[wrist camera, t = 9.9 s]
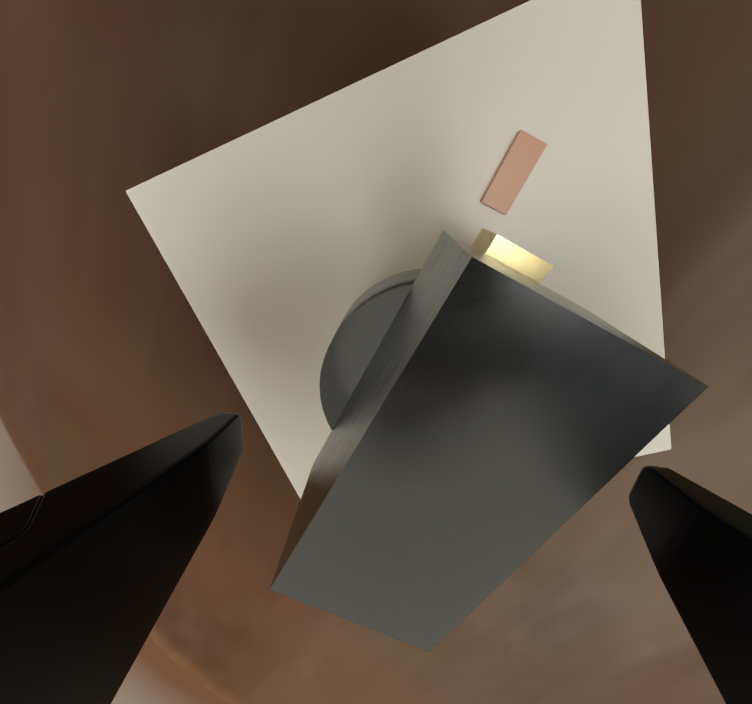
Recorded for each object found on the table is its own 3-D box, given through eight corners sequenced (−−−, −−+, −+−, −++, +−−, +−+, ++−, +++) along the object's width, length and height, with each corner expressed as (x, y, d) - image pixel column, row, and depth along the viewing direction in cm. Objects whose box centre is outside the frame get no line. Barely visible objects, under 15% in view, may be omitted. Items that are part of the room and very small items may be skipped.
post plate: (146, 191, 15) (60, 189, 11) (614, -26, 11) (716, -134, 8) (319, 506, 21) (301, 571, 17) (654, 433, 17) (720, 496, 14)
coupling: (446, 479, 14) (474, 669, 8) (297, 410, 13) (217, 569, 8) (594, 291, 11) (800, 395, 5) (408, 186, 10) (410, 174, 4)
